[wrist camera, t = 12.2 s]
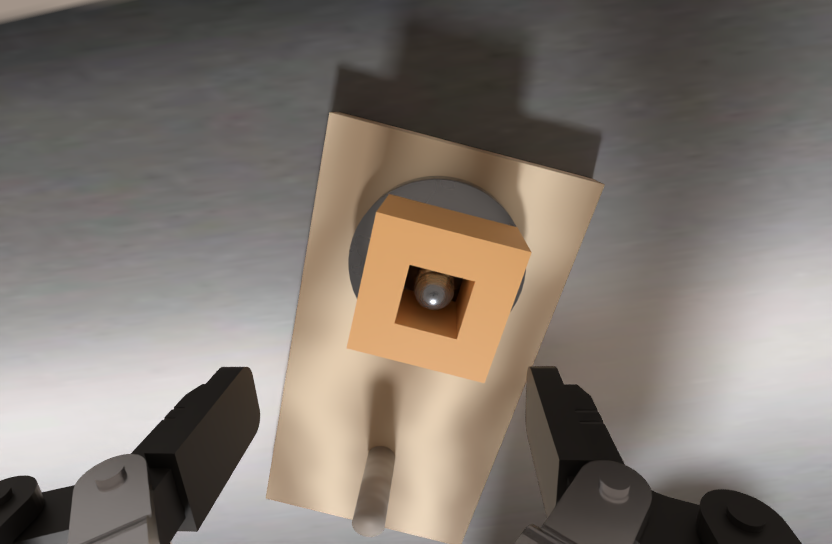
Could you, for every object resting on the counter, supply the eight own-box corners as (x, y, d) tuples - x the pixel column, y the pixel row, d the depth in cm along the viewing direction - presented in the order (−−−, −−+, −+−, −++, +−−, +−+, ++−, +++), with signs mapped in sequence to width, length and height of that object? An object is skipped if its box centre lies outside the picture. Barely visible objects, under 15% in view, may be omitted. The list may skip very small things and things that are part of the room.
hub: (545, 200, 22) (571, 225, 18) (492, 351, 26) (502, 406, 21) (372, 155, 22) (351, 168, 17) (340, 312, 25) (315, 359, 21)
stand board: (592, 178, 24) (646, 205, 17) (459, 521, 33) (462, 624, 26) (339, 111, 24) (296, 113, 17) (276, 475, 33) (232, 568, 26)
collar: (517, 227, 21) (531, 252, 18) (479, 339, 24) (484, 383, 20) (389, 194, 21) (376, 212, 18) (362, 310, 24) (346, 348, 20)
